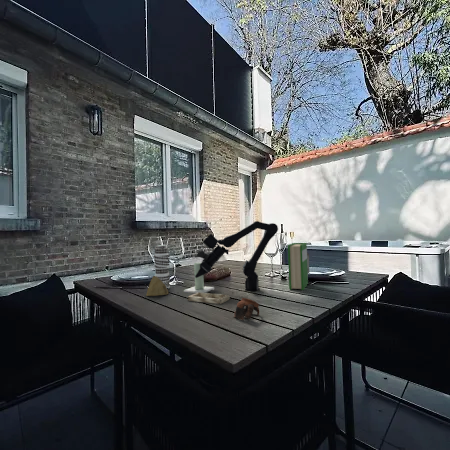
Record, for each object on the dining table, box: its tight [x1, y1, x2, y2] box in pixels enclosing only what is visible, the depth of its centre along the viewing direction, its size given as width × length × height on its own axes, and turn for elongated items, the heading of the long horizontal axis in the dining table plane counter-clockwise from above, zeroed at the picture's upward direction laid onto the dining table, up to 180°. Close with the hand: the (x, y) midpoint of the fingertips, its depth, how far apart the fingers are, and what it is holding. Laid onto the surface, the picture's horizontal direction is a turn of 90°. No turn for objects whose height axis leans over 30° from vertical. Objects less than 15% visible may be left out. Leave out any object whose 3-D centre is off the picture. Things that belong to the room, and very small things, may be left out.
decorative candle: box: [153, 244, 171, 289], centre depth 171 cm, size 9×9×25 cm
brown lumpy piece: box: [233, 297, 260, 321], centre depth 111 cm, size 12×10×8 cm
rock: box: [145, 275, 169, 297], centre depth 153 cm, size 11×9×10 cm
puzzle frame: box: [187, 292, 231, 305], centre depth 137 cm, size 17×9×2 cm, turn 64°
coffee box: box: [307, 252, 310, 274], centre depth 185 cm, size 9×6×16 cm
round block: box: [193, 262, 205, 290], centre depth 158 cm, size 5×5×14 cm
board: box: [183, 285, 215, 294], centre depth 158 cm, size 12×12×2 cm
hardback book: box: [287, 242, 309, 291], centre depth 162 cm, size 18×7×24 cm, turn 157°
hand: (196, 275), depth 158 cm, fingers open, 9 cm apart
